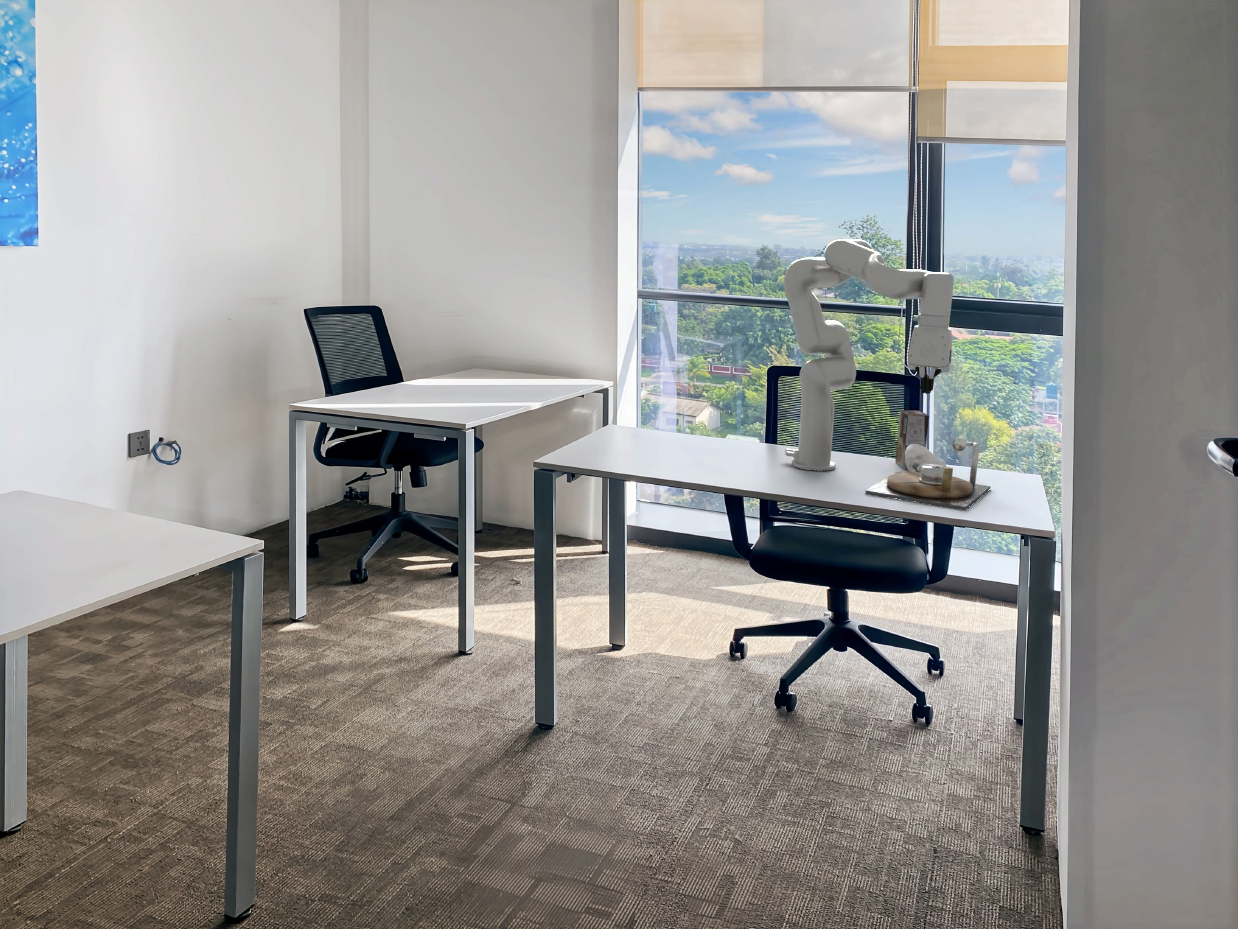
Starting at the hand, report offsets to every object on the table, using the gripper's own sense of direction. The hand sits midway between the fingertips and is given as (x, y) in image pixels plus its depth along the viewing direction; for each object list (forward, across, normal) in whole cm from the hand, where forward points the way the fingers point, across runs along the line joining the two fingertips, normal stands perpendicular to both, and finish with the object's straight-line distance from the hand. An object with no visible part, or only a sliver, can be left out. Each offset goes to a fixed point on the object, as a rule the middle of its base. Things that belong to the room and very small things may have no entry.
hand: (926, 392), depth 269 cm
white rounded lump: (+28, -5, +25) cm, 38 cm away
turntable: (+26, +2, +5) cm, 27 cm away
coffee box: (+28, -12, +32) cm, 44 cm away
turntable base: (+27, +2, +5) cm, 28 cm away
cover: (+24, +3, +6) cm, 25 cm away
